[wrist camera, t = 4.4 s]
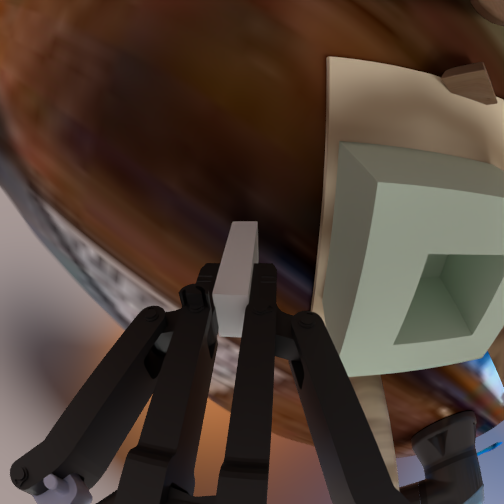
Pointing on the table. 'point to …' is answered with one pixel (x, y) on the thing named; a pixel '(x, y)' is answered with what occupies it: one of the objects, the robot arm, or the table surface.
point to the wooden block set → (475, 75)
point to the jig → (401, 134)
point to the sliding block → (413, 259)
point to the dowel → (377, 418)
